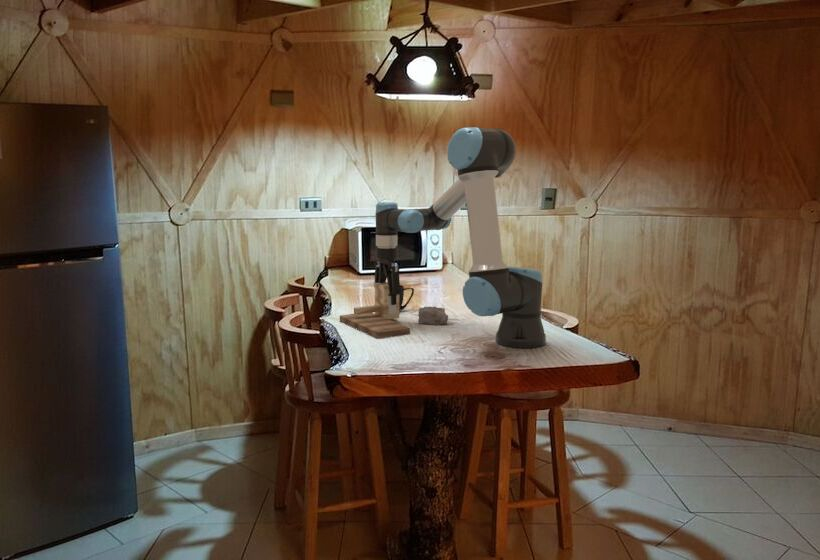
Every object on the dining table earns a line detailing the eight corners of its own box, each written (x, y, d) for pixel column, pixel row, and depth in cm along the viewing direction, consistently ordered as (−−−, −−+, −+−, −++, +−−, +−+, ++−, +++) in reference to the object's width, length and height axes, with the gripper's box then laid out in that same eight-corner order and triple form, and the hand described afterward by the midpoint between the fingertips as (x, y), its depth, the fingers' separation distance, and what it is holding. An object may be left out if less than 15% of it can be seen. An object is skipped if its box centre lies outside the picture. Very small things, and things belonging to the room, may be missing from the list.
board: (410, 333, 202) (410, 327, 201) (377, 338, 195) (377, 332, 195) (370, 317, 225) (370, 311, 225) (339, 321, 219) (339, 315, 219)
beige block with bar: (399, 318, 219) (399, 284, 217) (359, 323, 211) (359, 288, 209) (389, 314, 225) (389, 281, 223) (350, 319, 217) (350, 285, 215)
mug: (414, 313, 232) (414, 288, 231) (382, 313, 231) (382, 288, 230) (413, 308, 240) (413, 284, 239) (381, 308, 239) (381, 284, 238)
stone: (422, 327, 211) (422, 310, 210) (416, 321, 219) (416, 305, 218) (449, 325, 214) (450, 308, 213) (443, 320, 221) (443, 304, 221)
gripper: (410, 249, 210) (410, 315, 214) (382, 243, 227) (382, 305, 231) (391, 250, 206) (391, 318, 210) (364, 244, 223) (364, 307, 227)
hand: (387, 311), depth 220 cm, fingers closed on beige block with bar, 7 cm apart
